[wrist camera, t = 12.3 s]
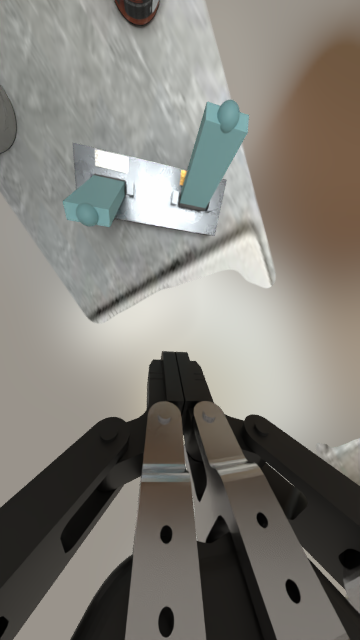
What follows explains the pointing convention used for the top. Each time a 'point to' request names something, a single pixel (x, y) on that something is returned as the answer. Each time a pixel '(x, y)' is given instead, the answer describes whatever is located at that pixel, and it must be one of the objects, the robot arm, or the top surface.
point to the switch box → (148, 190)
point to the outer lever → (213, 152)
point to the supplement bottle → (138, 10)
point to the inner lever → (96, 201)
